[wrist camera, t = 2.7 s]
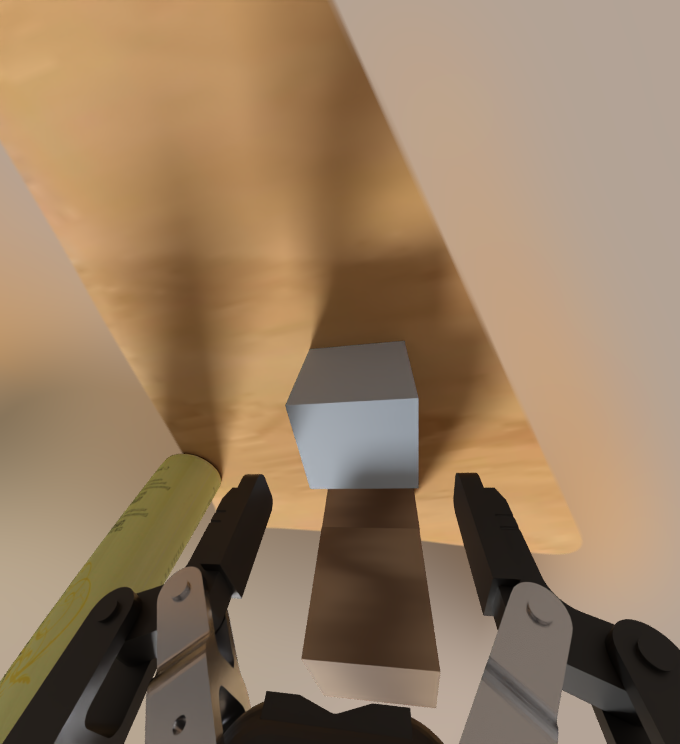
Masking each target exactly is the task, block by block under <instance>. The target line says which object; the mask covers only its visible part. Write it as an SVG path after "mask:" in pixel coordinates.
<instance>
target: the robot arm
mask: <svg viewBox="0 0 680 744" xmlns="http://www.w3.org/2000/svg"><path fill="white" fill-rule="evenodd" d="M272 505H273V499H272V495H271V492H270V490H269V487H268V485H267V482H266V479H265V477H264V475H262V474H247V475H244V476H243V478H242V480H241V482H240V484H239V486H238V488H232V489H231V490H230V491H229V492H228V493H227V494H226V495H225V496H224V497H223V498H222V500H221V502H220V504H219V506H218V508H217V510H216V513H215V514H214V515H213V517H212V519H211V523H209V525H208V527H207V529H206V531H205V532H204V534H203V536H202V538H201V540H200V542H199V544H198V546H197V547H196V549H195V551H194V553H193V555H192V557H191V559H190V561H189V562H188V564H187V566H186V567H185V568H183V569H181V570H179V571H177V572H176V573H174V574H173V575H172V576H171V577H170V578H169V579H168V580H167V582H166V583H165V584H163V585H161V586H158V587H155V588H152V589H149V590H145V591H142V592H139V593H135V592H134V591H133V590H132V589H131V588H129V587H120V588H117V589H115V590H113V591H111V592H110V593H108V594H107V595H105V596H104V597H103V598H102V599H101V600H100V601H99V602H98V603H97V604H96V605H95V606H94V607H93V609H92V610H91V611H90V613H89V614H88V616H87V617H86V619H85V620H84V622H83V623H82V625H81V626H80V628H79V629H78V631H77V632H76V634H75V635H74V637H73V638H72V640H71V641H70V643H69V644H68V646H67V647H66V649H65V650H64V652H63V653H62V655H61V656H60V658H59V659H58V661H57V662H56V664H55V665H54V667H53V668H52V670H51V671H50V673H49V674H48V676H47V677H46V679H45V680H44V682H43V683H42V685H41V686H40V688H39V689H38V691H37V692H36V694H35V695H34V697H33V698H32V700H31V701H30V703H29V704H28V706H27V707H26V709H25V710H24V712H23V713H22V715H21V716H20V718H19V719H18V721H17V722H16V724H15V725H14V727H13V728H12V730H11V731H10V733H9V734H8V736H7V737H6V739H5V740H4V742H3V743H2V744H124V742H125V740H126V738H127V735H128V733H129V731H130V728H131V726H132V724H133V721H134V719H135V717H136V715H137V712H138V710H139V708H140V706H141V703H142V701H143V699H144V696H145V694H146V692H147V694H146V724H145V744H444V743H443V742H442V741H441V740H440V739H439V738H438V737H437V736H436V735H435V734H434V733H433V732H432V731H431V730H430V729H429V728H427V727H426V726H425V725H423V724H422V723H421V722H419V721H417V720H415V719H413V718H412V717H411V713H410V708H406V707H397V706H389V705H381V704H369V705H366V706H362V707H359V708H356V709H352V710H349V711H345V712H342V713H338V714H333V713H330V712H329V711H327V710H325V709H324V708H322V707H320V706H318V705H317V704H315V703H313V702H311V701H310V700H308V699H306V698H304V697H302V696H301V695H296V694H288V693H279V692H270V691H266V696H265V701H264V702H262V703H260V704H258V705H256V706H254V707H252V708H251V705H250V700H249V696H248V692H247V689H246V686H245V683H244V680H243V678H242V676H241V673H240V669H239V665H238V660H237V655H236V650H235V644H234V639H233V634H232V629H231V624H230V619H229V614H228V610H227V608H228V605H229V602H230V600H231V598H240V599H241V598H242V596H243V593H244V590H245V587H246V584H247V581H248V578H249V575H250V572H251V569H252V567H253V564H254V561H255V558H256V555H257V552H258V549H259V546H260V543H261V540H262V537H263V534H264V532H265V529H266V526H267V523H268V520H269V517H270V514H271V511H272ZM454 509H455V514H456V518H457V521H458V525H459V528H460V532H461V536H462V539H463V543H464V547H465V550H466V554H467V557H468V561H469V564H470V568H471V572H472V576H473V579H474V583H475V586H476V590H477V594H478V597H479V601H480V605H481V608H482V612H483V615H484V616H494V619H495V622H496V626H497V630H498V633H497V635H496V638H495V641H494V645H493V647H492V650H491V653H490V656H489V659H488V662H487V664H486V667H485V670H484V673H483V676H482V679H481V682H480V685H479V687H478V690H477V693H476V696H475V699H474V702H473V705H472V708H471V710H470V713H469V717H468V719H467V722H466V725H465V728H464V731H463V734H462V737H461V740H460V743H459V744H558V726H557V715H558V709H559V703H560V698H561V692H562V690H563V691H565V692H567V693H569V694H571V695H574V696H576V697H577V698H579V699H581V700H584V701H586V702H588V703H590V704H591V705H592V707H593V710H594V712H595V715H596V717H597V720H598V722H599V725H600V727H601V730H602V732H603V734H604V737H605V739H606V742H607V744H680V650H679V649H678V647H676V646H675V645H674V644H673V643H672V642H671V641H670V640H669V639H668V638H667V637H666V636H664V635H663V634H662V633H660V632H659V631H657V630H656V629H654V628H652V627H650V626H649V625H647V624H645V623H642V622H639V621H636V620H630V619H625V620H621V621H619V622H617V623H616V624H615V625H614V624H611V623H609V622H606V621H604V620H601V619H598V618H596V617H593V616H591V615H588V614H585V613H583V612H580V611H578V610H576V609H574V608H572V607H570V606H569V605H567V604H566V603H564V602H563V601H562V600H560V599H559V598H558V597H557V596H556V595H555V594H554V593H553V592H552V591H551V590H550V588H549V587H548V586H547V585H546V583H545V582H544V580H543V578H542V576H541V574H540V572H539V570H538V567H537V565H536V563H535V561H534V559H533V557H532V555H531V552H530V550H529V548H528V546H527V544H526V542H525V540H524V537H523V535H522V533H521V531H520V530H519V528H518V525H517V522H516V520H515V518H514V517H513V514H512V512H511V510H510V507H509V505H508V503H507V501H506V499H505V498H504V497H503V496H502V495H501V494H500V493H499V492H498V491H497V490H496V489H495V488H484V487H483V485H482V482H481V480H480V477H479V475H478V474H477V473H456V476H455V487H454ZM156 669H157V672H156V675H155V677H154V678H153V676H154V673H155V671H156ZM152 678H153V679H152Z"/></svg>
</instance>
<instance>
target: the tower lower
mask: <svg viewBox="0 0 680 744" xmlns="http://www.w3.org/2000/svg"><path fill="white" fill-rule="evenodd" d="M322 527H344V528H414V529H419V531H420V528H419V521H418V515H417V508H416V501H415V495H414V488H383V489H328V492H327V499H326V505H325V512H324V518H323V525H322Z"/></svg>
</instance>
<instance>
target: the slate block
mask: <svg viewBox="0 0 680 744" xmlns="http://www.w3.org/2000/svg"><path fill="white" fill-rule="evenodd" d="M285 406H286V410H287V413H288V416H289V419H290V423H291V426H292V429H293V433H294V436H295V439H296V443H297V446H298V449H299V453H300V456H301V459H302V463H303V466H304V469H305V473H306V476H307V479H308V483H309V486H310V489H383V488H418V394H417V390H416V386H415V382H414V378H413V374H412V369H411V365H410V361H409V357H408V353H407V349H406V345H405V341H396V342H384V343H373V344H362V345H350V346H339V347H327V348H316V349H309V352H308V354H307V356H306V359H305V361H304V363H303V366H302V368H301V370H300V372H299V375H298V377H297V379H296V382H295V384H294V386H293V389H292V391H291V393H290V396H289V398H288V400H287V403H286V405H285Z"/></svg>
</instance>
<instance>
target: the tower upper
mask: <svg viewBox="0 0 680 744" xmlns="http://www.w3.org/2000/svg"><path fill="white" fill-rule="evenodd" d="M302 661H303V662H304V664H305V666H306V667H307V669H308V670H309V672H310V674H311V675H312V677H313V679H314V680H315V682H316V683H317V685H318V687H319V688H320V690H321V691H322V693H323V695H324V696H330V697H340V698H348V699H357V700H366V701H376V702H384V703H395V704H403V705H412V706H422V707H430V708H436V704H437V695H438V687H439V678H440V667H439V660H438V653H437V646H436V639H435V633H434V626H433V619H432V612H431V605H430V599H429V592H428V585H427V578H426V572H425V565H424V558H423V551H422V545H421V538H420V531H419V529H414V528H344V527H322V529H321V536H320V543H319V549H318V555H317V562H316V568H315V575H314V581H313V588H312V594H311V601H310V608H309V614H308V620H307V626H306V633H305V639H304V646H303V652H302Z"/></svg>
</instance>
